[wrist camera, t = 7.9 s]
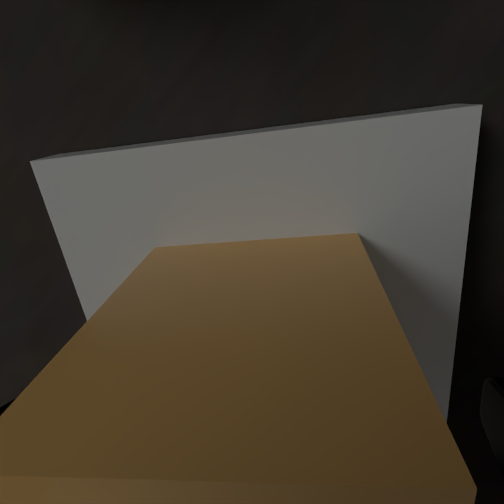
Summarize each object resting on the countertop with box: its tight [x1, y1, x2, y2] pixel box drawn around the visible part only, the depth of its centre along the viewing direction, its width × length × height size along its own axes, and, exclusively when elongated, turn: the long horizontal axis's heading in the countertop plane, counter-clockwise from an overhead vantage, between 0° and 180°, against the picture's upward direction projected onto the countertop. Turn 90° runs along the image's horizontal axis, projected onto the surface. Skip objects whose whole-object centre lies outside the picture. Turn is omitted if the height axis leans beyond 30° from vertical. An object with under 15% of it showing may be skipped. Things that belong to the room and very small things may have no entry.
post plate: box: [30, 104, 482, 423], centre depth 8 cm, size 10×10×6 cm
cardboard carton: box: [0, 233, 477, 504], centre depth 7 cm, size 5×5×6 cm
